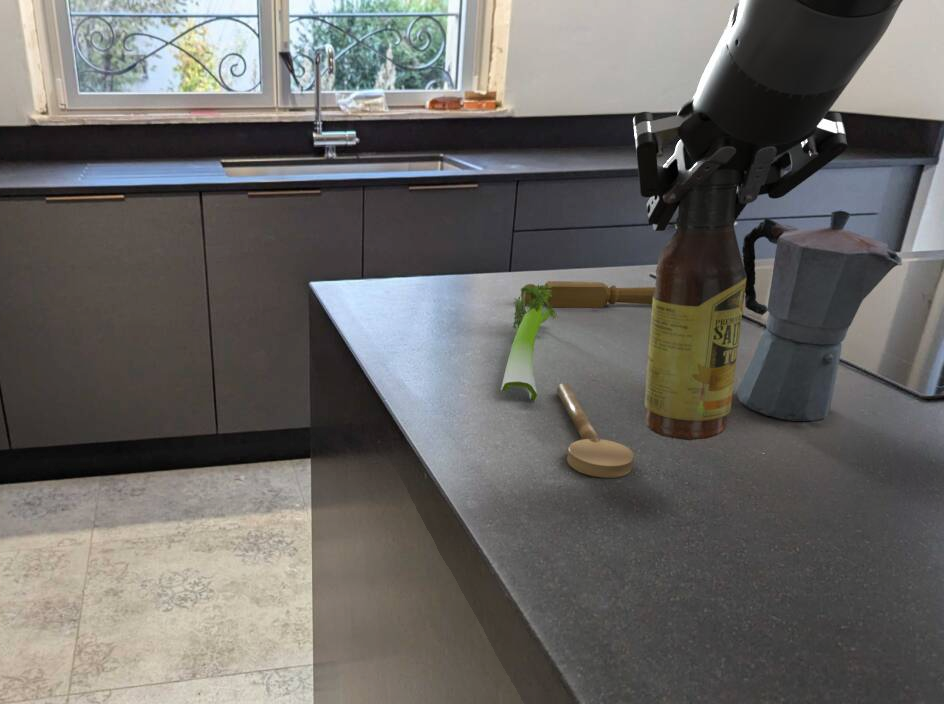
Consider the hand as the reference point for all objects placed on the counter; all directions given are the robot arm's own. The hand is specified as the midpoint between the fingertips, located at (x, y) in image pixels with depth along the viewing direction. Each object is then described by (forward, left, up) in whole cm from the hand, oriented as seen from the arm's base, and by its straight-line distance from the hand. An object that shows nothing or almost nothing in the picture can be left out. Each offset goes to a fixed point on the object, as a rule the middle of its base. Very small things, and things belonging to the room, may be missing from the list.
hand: (686, 220), depth 62 cm
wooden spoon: (+3, -9, -22) cm, 24 cm away
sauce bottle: (-1, +4, -16) cm, 16 cm away
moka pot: (-19, -17, -22) cm, 34 cm away
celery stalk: (+5, -31, -22) cm, 38 cm away
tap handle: (-13, -56, -22) cm, 61 cm away
